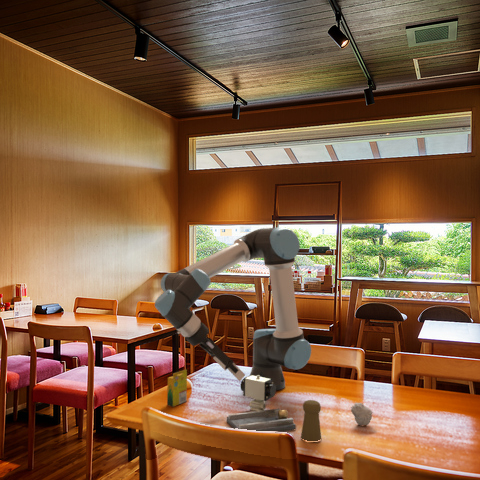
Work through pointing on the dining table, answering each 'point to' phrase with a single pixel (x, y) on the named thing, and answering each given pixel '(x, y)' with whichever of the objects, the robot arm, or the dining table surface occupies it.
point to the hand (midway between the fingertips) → (234, 372)
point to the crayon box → (177, 388)
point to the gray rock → (361, 414)
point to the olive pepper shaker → (311, 421)
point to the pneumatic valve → (258, 391)
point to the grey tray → (262, 420)
